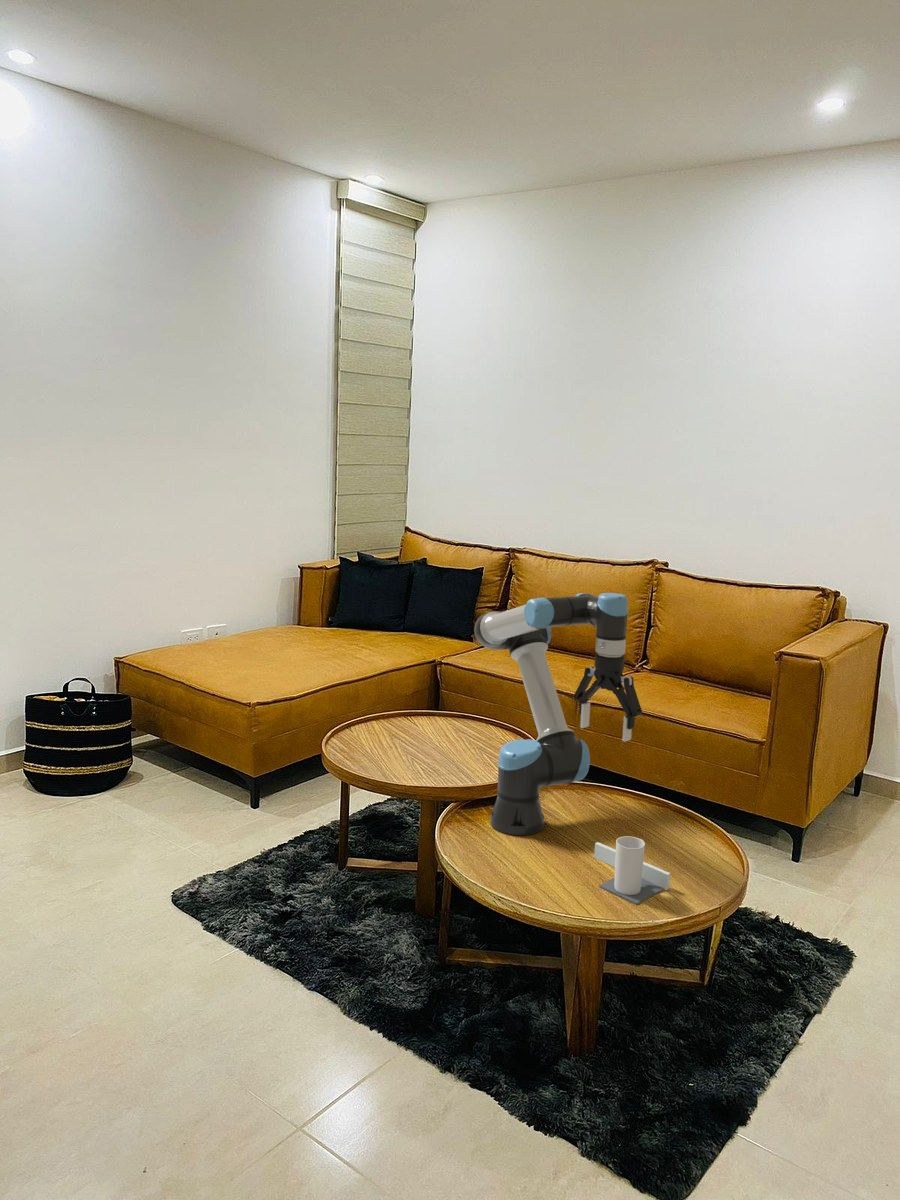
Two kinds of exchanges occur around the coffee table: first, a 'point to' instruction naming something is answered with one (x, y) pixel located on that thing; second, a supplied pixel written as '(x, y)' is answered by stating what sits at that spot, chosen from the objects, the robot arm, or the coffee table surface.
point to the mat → (645, 893)
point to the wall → (649, 871)
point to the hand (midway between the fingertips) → (605, 733)
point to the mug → (629, 865)
